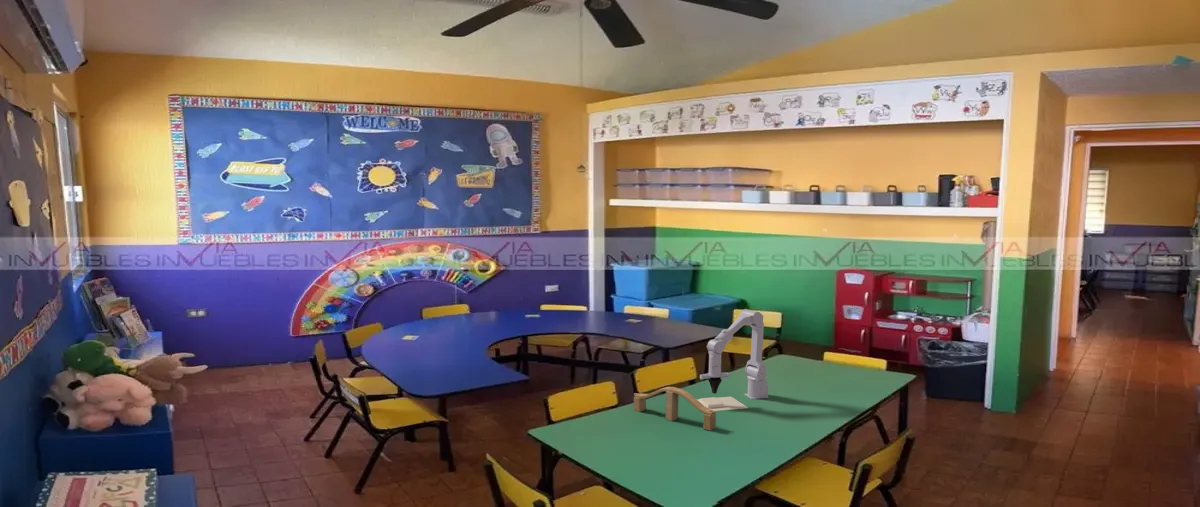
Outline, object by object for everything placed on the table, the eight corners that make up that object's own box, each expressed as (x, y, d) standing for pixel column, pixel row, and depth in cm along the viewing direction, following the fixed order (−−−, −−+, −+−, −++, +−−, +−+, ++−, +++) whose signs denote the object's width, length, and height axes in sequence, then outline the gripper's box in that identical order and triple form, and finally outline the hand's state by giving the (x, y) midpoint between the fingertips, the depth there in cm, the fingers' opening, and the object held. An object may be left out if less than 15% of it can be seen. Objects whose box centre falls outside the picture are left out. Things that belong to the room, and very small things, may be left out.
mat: (731, 397, 351) (731, 396, 351) (748, 408, 334) (748, 407, 334) (689, 400, 345) (689, 399, 345) (705, 412, 328) (705, 411, 328)
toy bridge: (716, 428, 308) (717, 396, 306) (709, 432, 304) (710, 399, 302) (637, 407, 335) (638, 377, 333) (630, 410, 330) (630, 380, 329)
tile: (714, 397, 344) (699, 398, 342) (723, 403, 335) (708, 404, 333) (714, 400, 345) (699, 401, 342) (723, 407, 335) (708, 408, 333)
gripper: (725, 361, 343) (724, 389, 344) (697, 363, 339) (696, 391, 340) (731, 365, 336) (731, 393, 338) (703, 367, 332) (702, 395, 334)
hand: (714, 392), depth 339 cm, fingers closed
